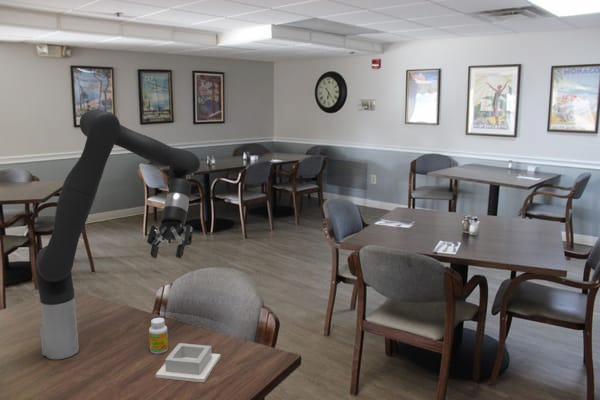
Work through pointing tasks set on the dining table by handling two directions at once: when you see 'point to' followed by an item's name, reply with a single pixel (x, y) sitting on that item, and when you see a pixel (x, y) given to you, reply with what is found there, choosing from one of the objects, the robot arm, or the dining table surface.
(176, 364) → the socket block
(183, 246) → the robot arm
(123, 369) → the dining table surface
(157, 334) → the supplement bottle
